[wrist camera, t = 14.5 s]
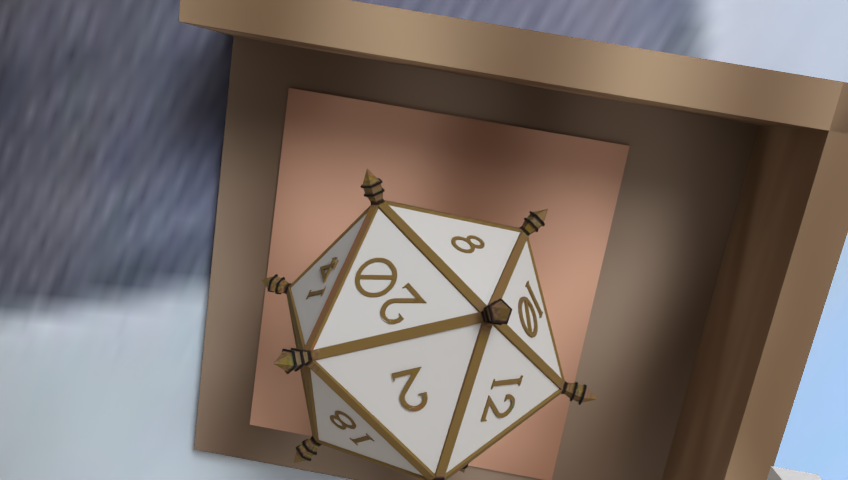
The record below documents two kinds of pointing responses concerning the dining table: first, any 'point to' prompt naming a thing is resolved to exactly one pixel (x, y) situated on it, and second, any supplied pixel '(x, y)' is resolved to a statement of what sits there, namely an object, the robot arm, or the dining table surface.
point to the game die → (421, 338)
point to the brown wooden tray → (553, 243)
